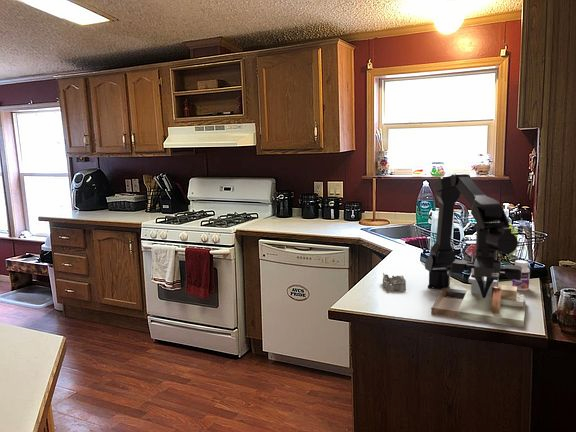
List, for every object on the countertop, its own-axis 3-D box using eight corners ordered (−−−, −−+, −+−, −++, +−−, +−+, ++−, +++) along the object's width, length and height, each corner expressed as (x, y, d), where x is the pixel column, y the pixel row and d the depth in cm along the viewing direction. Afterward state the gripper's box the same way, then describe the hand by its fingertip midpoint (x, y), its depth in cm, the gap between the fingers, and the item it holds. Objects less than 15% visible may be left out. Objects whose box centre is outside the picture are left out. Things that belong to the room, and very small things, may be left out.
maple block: (499, 303, 142) (500, 289, 142) (500, 298, 146) (501, 285, 145) (515, 305, 140) (516, 291, 139) (516, 300, 144) (517, 286, 143)
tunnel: (467, 300, 145) (468, 278, 144) (471, 292, 153) (472, 271, 152) (495, 304, 141) (496, 281, 140) (497, 295, 149) (498, 274, 148)
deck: (431, 313, 140) (431, 307, 140) (443, 293, 159) (443, 287, 158) (523, 327, 129) (523, 320, 128) (525, 303, 147) (525, 297, 147)
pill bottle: (511, 289, 160) (513, 262, 159) (511, 285, 165) (512, 259, 164) (529, 291, 158) (530, 264, 157) (528, 287, 163) (529, 260, 161)
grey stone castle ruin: (381, 282, 173) (381, 272, 172) (402, 282, 173) (402, 272, 172) (385, 291, 163) (385, 280, 162) (407, 291, 162) (407, 280, 161)
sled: (490, 311, 134) (491, 288, 133) (494, 295, 148) (495, 274, 146) (522, 315, 130) (523, 292, 129) (523, 299, 144) (525, 277, 143)
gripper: (448, 248, 131) (446, 301, 133) (521, 255, 122) (518, 311, 124) (454, 240, 140) (452, 290, 143) (523, 246, 131) (520, 298, 134)
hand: (484, 297), depth 136 cm, fingers closed
